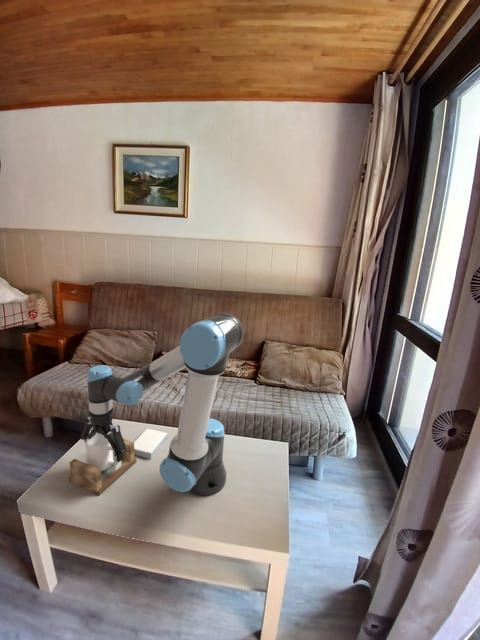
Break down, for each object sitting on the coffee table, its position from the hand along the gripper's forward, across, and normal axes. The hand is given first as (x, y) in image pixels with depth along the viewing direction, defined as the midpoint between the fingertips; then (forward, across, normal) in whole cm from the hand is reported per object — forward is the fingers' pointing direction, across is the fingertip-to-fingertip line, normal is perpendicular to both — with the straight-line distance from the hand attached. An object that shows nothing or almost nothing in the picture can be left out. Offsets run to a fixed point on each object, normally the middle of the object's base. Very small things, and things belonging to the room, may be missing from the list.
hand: (104, 462), depth 112 cm
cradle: (+4, 0, 0) cm, 4 cm away
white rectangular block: (+4, -5, -19) cm, 20 cm away
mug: (+2, 0, 0) cm, 2 cm away
